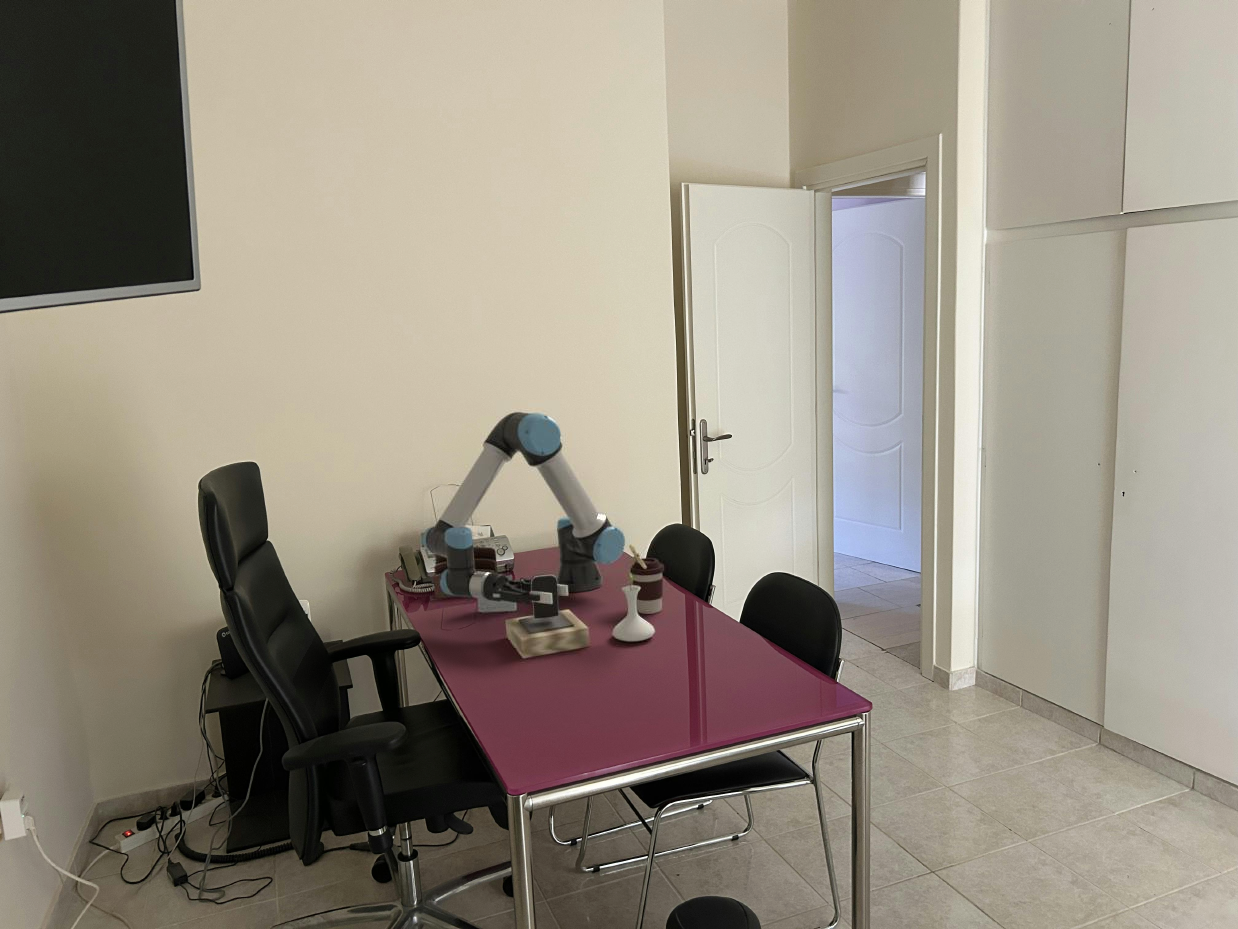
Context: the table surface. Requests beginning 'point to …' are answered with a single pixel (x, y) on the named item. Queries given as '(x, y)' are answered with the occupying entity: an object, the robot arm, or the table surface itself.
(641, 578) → the coffee cup
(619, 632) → the flower in vase
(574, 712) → the table surface
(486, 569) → the letter holder
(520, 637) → the stand
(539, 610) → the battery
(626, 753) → the table surface
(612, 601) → the table surface
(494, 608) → the ink box
